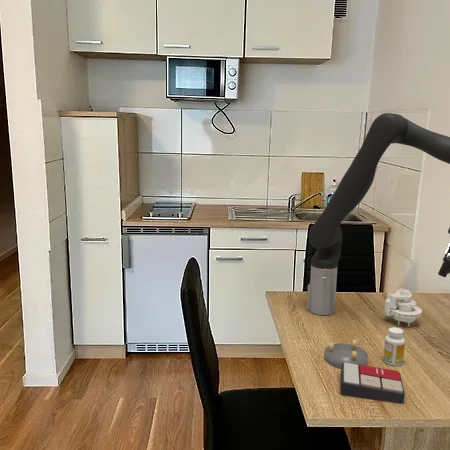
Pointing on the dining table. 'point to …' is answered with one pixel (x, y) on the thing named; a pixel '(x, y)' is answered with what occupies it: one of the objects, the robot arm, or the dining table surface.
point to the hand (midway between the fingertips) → (443, 274)
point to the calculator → (371, 383)
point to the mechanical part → (402, 306)
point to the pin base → (345, 354)
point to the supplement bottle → (394, 347)
